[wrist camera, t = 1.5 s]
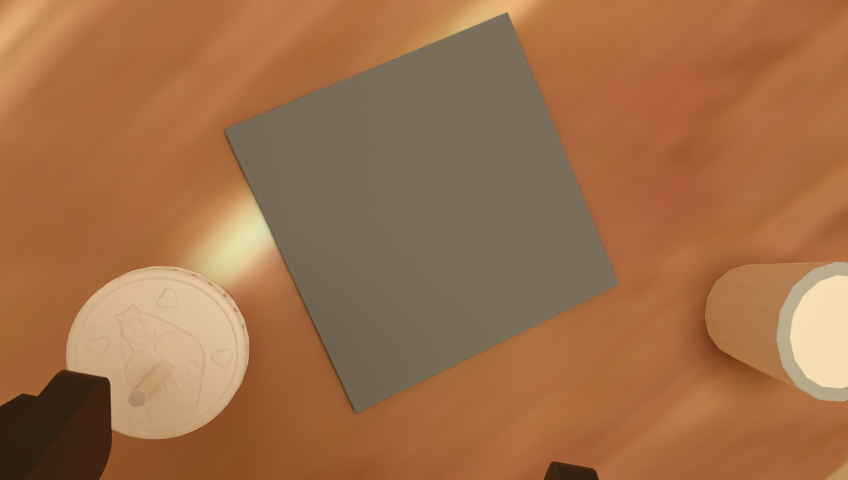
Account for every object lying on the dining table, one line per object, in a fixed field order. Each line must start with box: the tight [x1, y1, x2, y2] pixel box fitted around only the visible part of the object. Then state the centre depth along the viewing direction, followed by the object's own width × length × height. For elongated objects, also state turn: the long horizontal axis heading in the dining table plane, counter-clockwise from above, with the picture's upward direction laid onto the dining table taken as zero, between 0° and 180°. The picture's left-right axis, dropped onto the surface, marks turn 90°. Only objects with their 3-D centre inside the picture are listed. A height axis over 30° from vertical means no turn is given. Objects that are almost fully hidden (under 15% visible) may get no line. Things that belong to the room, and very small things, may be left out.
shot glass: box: [704, 262, 848, 402], centre depth 36 cm, size 7×7×7 cm
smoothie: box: [66, 266, 249, 439], centre depth 27 cm, size 6×6×14 cm
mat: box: [224, 12, 619, 413], centre depth 36 cm, size 16×16×1 cm
